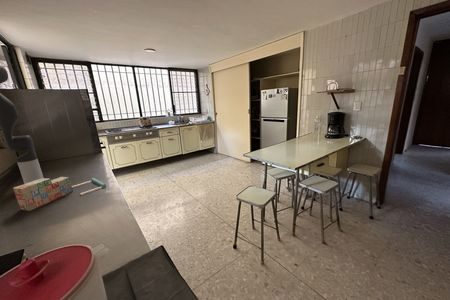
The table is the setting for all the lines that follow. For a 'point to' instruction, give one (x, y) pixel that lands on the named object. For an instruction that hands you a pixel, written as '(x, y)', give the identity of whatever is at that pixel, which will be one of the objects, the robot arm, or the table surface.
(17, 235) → the table surface
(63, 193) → the stack of blocks
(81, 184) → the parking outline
